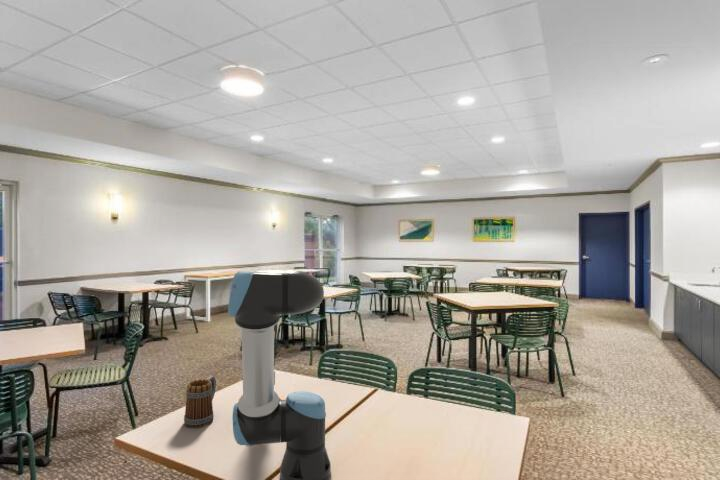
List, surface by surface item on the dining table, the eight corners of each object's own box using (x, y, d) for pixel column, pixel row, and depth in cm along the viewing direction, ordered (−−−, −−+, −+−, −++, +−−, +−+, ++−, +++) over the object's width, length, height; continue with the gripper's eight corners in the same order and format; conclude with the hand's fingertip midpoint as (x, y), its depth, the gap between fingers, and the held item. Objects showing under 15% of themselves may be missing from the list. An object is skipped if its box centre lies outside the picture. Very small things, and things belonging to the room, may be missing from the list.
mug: (203, 429, 147) (203, 389, 147) (177, 426, 149) (178, 386, 149) (225, 411, 162) (226, 375, 162) (202, 409, 164) (202, 373, 164)
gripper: (284, 324, 145) (283, 388, 146) (268, 315, 161) (268, 372, 161) (264, 326, 142) (263, 391, 142) (250, 317, 158) (249, 376, 158)
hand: (265, 381), depth 152 cm, fingers closed on plug, 5 cm apart
